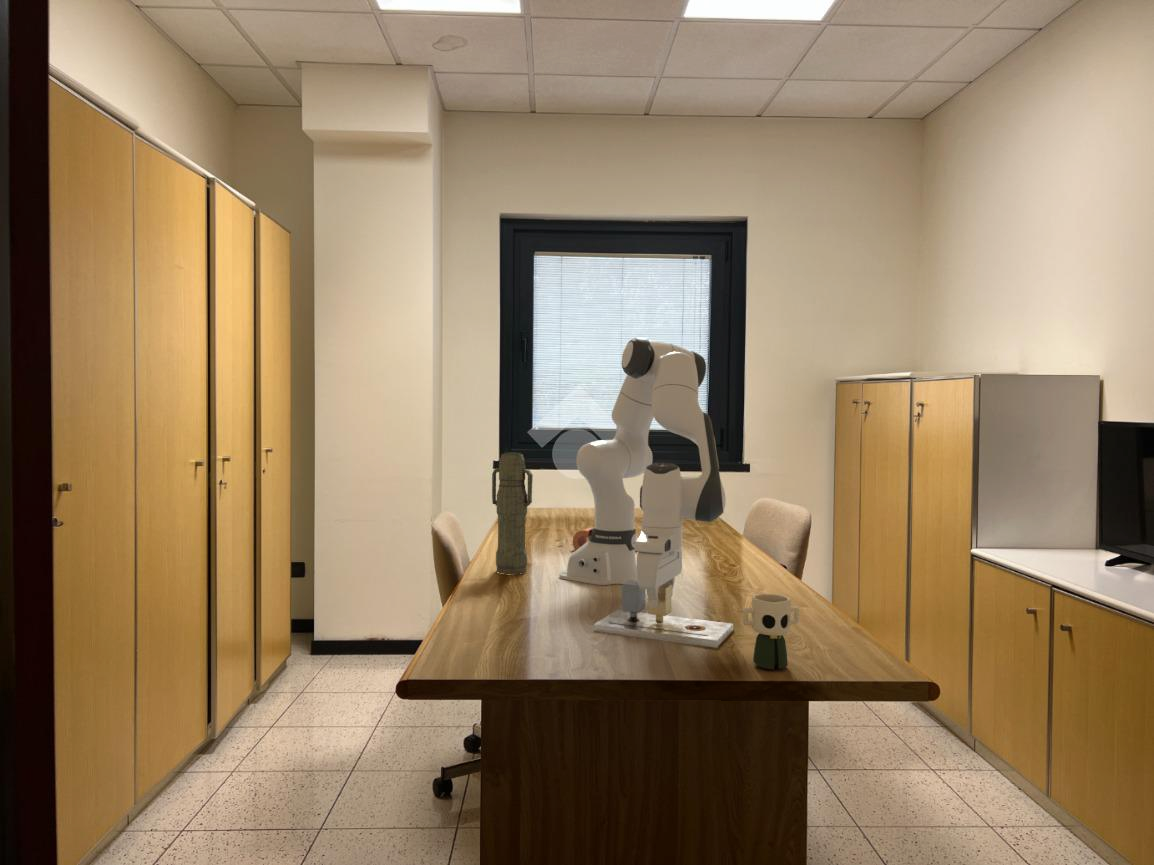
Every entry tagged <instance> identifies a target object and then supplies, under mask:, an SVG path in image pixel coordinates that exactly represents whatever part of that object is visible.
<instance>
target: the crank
mask: <svg viewBox="0 0 1154 865" xmlns="http://www.w3.org/2000/svg"><path fill="white" fill-rule="evenodd" d="M594 527H595V526H594ZM594 527H593V526H591V527H588V528H587V527H586V528H584V529H582V530H579V531H577V532H576V533H575V534H574V535H573V538H572V546H573V548H574V551H576V550H577V549H579V548H580V547H581V546H582V545H584V544H585V543H586V542H588V540H589V535H588V536H586V535H587V534H588V533H586V532H588V531H589V530H591V529H593V528H594ZM636 552H637V551H635V553H636Z"/></svg>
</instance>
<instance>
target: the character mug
mask: <svg viewBox="0 0 1154 865" xmlns="http://www.w3.org/2000/svg"><path fill="white" fill-rule="evenodd" d="M792 612H793V618H792V615H791V614H792ZM749 613H751V619H749ZM799 621H800V608H799V606H797V605H796V606H792V600H791V598H790V597H788V596H786V595H782V594H776V593H775V594H774V593H757V594H754V595H752V597H751V607H744V608H743V610H742V624H743V625H744V626H751V629H752V630H753V631H754V632H755V633H757V636H756V638H755V645H754V651H753V659H752V660H753V664H755V665H756V666H758V667H760V668H763V669H769V670H775V667H778V669H780V670H781V669H785V668H787V667H788V666H789V664H788V652H787V645H786V639H785V637H784V636H785V635H786V634H788V633H789V632H790V630H791V628H792V627H791V626H792V625H796V624H798V623H799Z"/></svg>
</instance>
